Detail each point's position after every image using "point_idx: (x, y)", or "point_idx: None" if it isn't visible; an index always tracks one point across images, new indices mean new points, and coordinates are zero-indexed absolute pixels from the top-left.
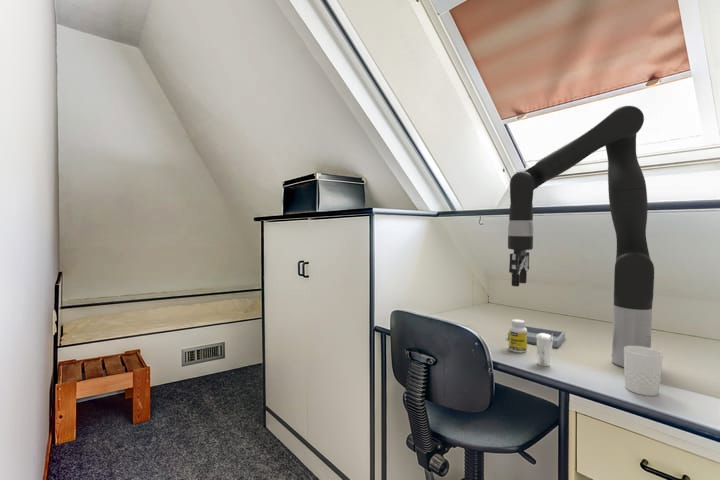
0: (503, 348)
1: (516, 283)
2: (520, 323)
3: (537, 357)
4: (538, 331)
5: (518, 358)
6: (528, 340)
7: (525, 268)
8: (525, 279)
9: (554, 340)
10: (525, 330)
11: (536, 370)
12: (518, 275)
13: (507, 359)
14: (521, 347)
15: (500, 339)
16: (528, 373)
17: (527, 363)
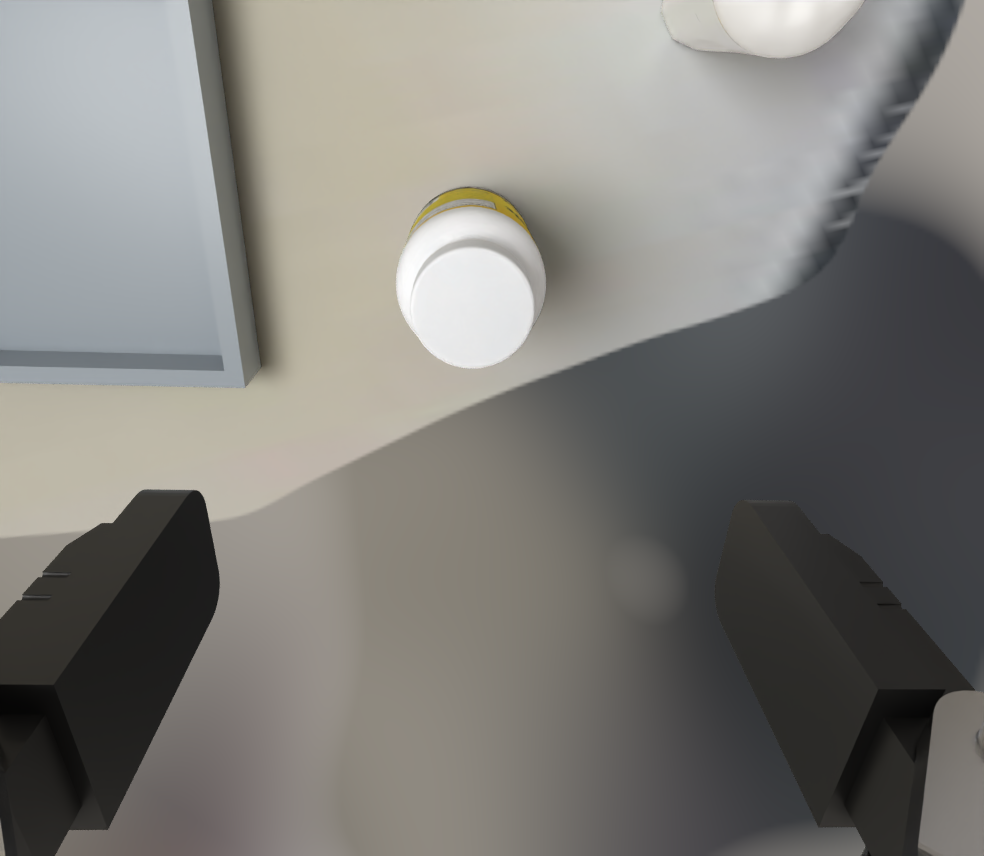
0: None
1: (853, 561)
2: (526, 275)
3: (708, 50)
4: None
5: (650, 199)
6: (234, 223)
7: (12, 843)
8: (161, 544)
9: None
10: (497, 218)
11: (854, 26)
12: (929, 686)
13: (707, 256)
14: (521, 217)
15: (290, 409)
16: (935, 66)
17: (730, 118)
